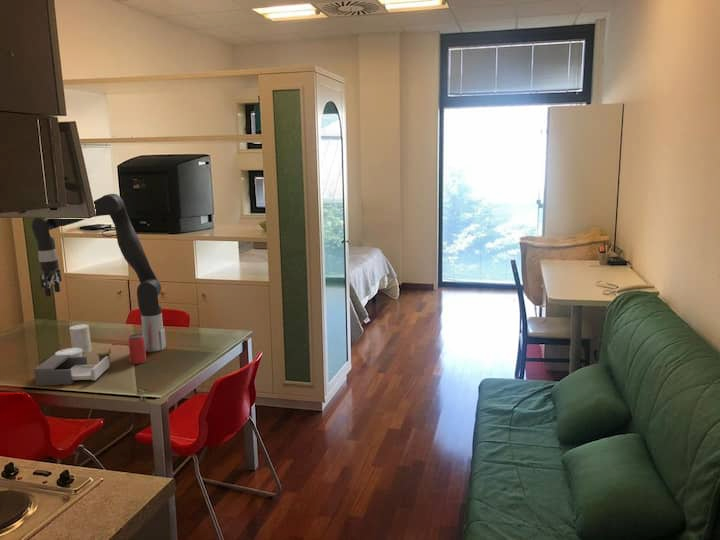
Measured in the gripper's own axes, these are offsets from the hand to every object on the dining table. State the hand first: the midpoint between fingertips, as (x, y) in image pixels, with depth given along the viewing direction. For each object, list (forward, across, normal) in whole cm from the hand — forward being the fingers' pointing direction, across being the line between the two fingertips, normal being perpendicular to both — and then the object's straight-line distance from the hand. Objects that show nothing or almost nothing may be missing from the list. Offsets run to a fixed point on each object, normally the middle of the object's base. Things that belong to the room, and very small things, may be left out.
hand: (53, 294), depth 272 cm
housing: (+28, -32, -15) cm, 45 cm away
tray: (+27, -32, -25) cm, 49 cm away
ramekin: (+29, -14, -10) cm, 34 cm away
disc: (+24, -18, -27) cm, 40 cm away
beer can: (+29, -16, -41) cm, 53 cm away
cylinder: (+29, -18, -27) cm, 43 cm away
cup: (+29, +1, -9) cm, 30 cm away
